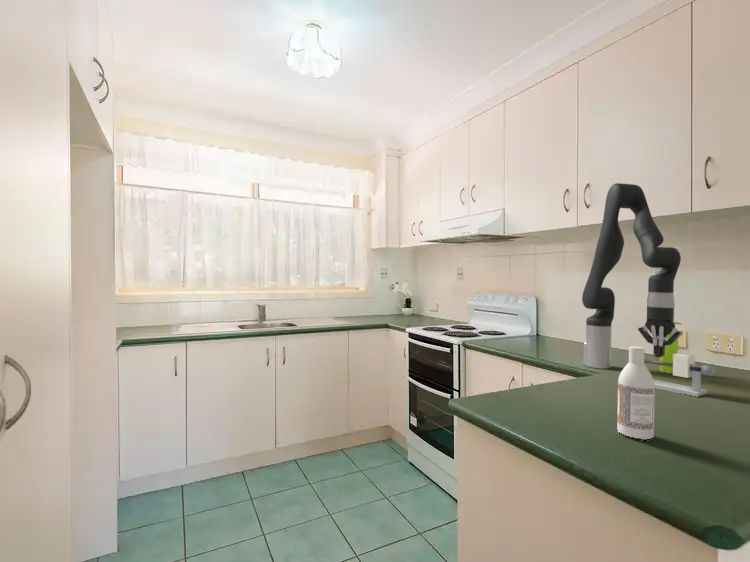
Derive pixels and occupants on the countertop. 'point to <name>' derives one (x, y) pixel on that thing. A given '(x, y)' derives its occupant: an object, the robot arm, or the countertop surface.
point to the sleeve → (683, 364)
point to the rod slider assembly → (682, 389)
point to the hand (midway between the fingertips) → (659, 356)
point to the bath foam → (636, 397)
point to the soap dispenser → (669, 354)
